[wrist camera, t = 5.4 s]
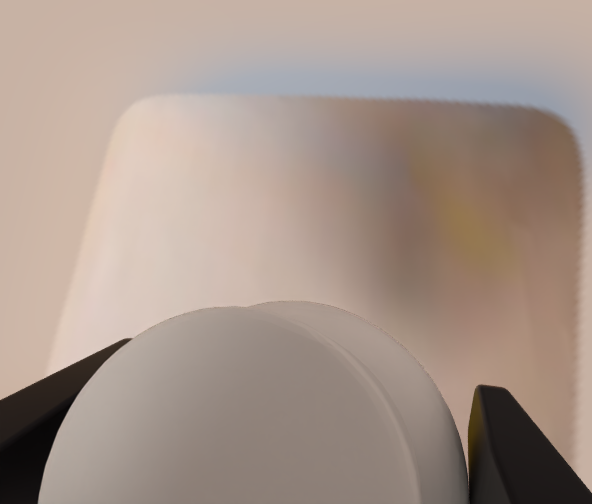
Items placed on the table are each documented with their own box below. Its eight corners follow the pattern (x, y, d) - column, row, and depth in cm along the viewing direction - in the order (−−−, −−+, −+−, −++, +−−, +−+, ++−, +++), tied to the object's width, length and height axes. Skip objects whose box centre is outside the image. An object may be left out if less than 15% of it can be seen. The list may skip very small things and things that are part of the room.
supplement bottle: (332, 311, 15) (221, 156, 6) (482, 440, 13) (664, 505, 4) (213, 448, 14) (-112, 510, 5) (350, 603, 12) (210, 1117, 3)
